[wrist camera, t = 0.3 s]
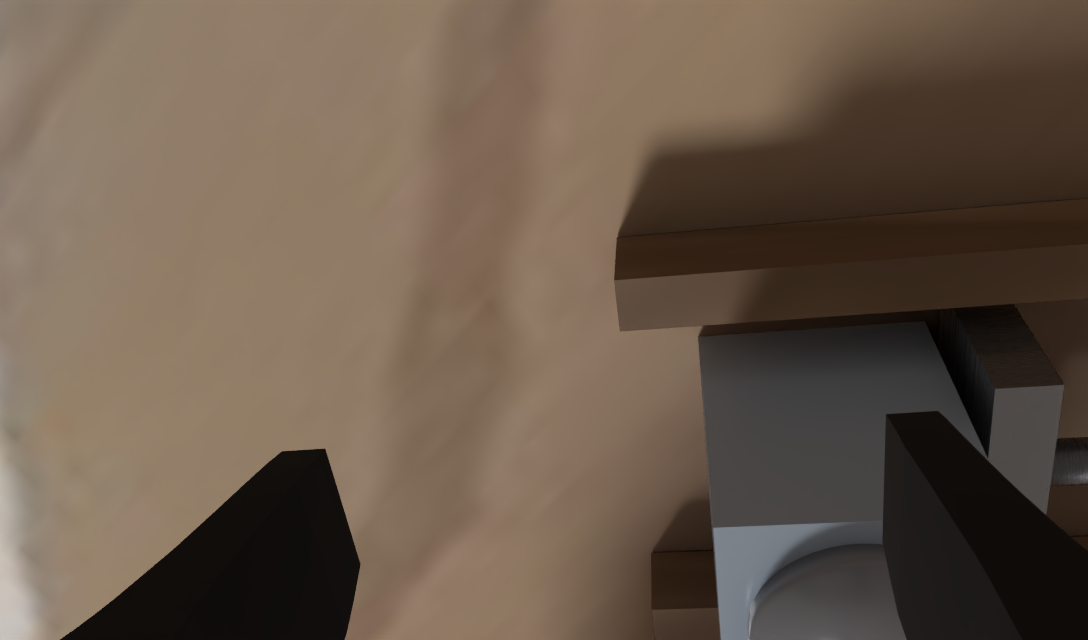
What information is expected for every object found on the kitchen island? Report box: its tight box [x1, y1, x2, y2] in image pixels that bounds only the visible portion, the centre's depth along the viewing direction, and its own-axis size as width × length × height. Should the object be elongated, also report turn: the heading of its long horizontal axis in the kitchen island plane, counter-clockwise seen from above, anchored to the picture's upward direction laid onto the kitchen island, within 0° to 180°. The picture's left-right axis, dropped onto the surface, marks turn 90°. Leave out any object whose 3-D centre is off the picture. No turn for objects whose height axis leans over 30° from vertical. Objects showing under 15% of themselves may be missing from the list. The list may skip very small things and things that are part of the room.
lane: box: [614, 198, 1088, 640], centre depth 22 cm, size 10×18×4 cm, turn 98°
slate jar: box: [698, 321, 989, 640], centre depth 21 cm, size 5×5×7 cm
